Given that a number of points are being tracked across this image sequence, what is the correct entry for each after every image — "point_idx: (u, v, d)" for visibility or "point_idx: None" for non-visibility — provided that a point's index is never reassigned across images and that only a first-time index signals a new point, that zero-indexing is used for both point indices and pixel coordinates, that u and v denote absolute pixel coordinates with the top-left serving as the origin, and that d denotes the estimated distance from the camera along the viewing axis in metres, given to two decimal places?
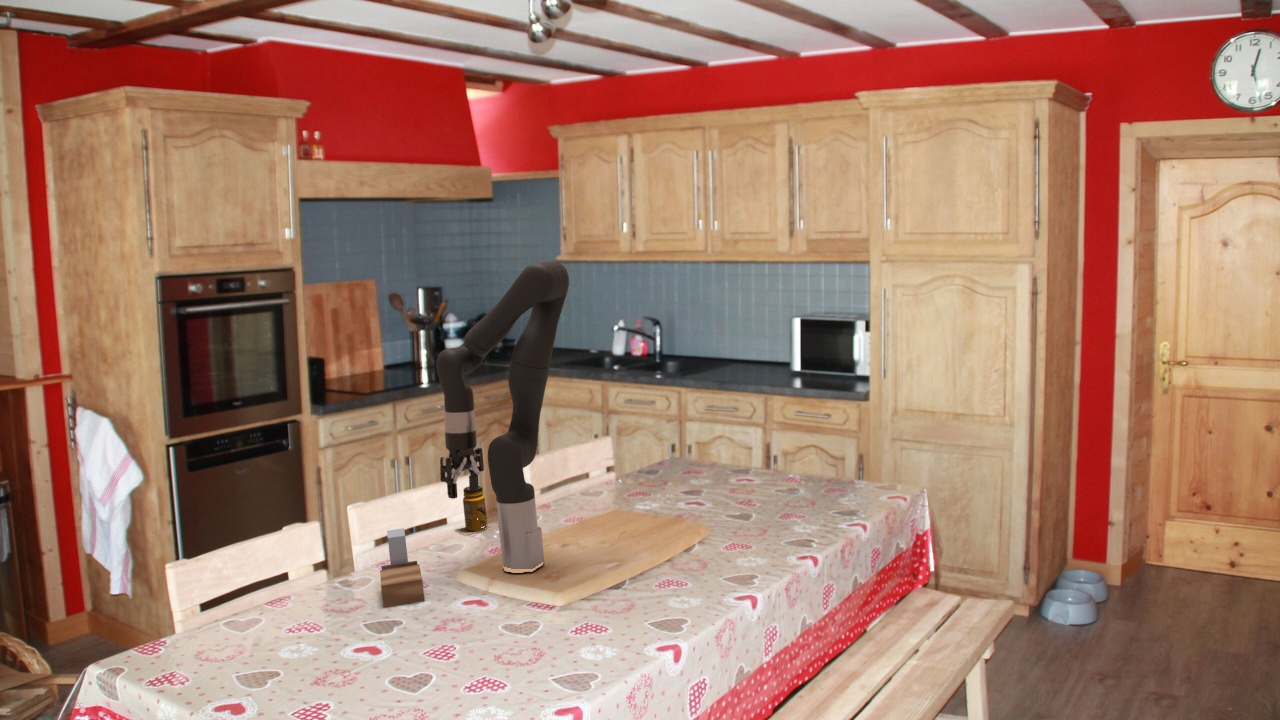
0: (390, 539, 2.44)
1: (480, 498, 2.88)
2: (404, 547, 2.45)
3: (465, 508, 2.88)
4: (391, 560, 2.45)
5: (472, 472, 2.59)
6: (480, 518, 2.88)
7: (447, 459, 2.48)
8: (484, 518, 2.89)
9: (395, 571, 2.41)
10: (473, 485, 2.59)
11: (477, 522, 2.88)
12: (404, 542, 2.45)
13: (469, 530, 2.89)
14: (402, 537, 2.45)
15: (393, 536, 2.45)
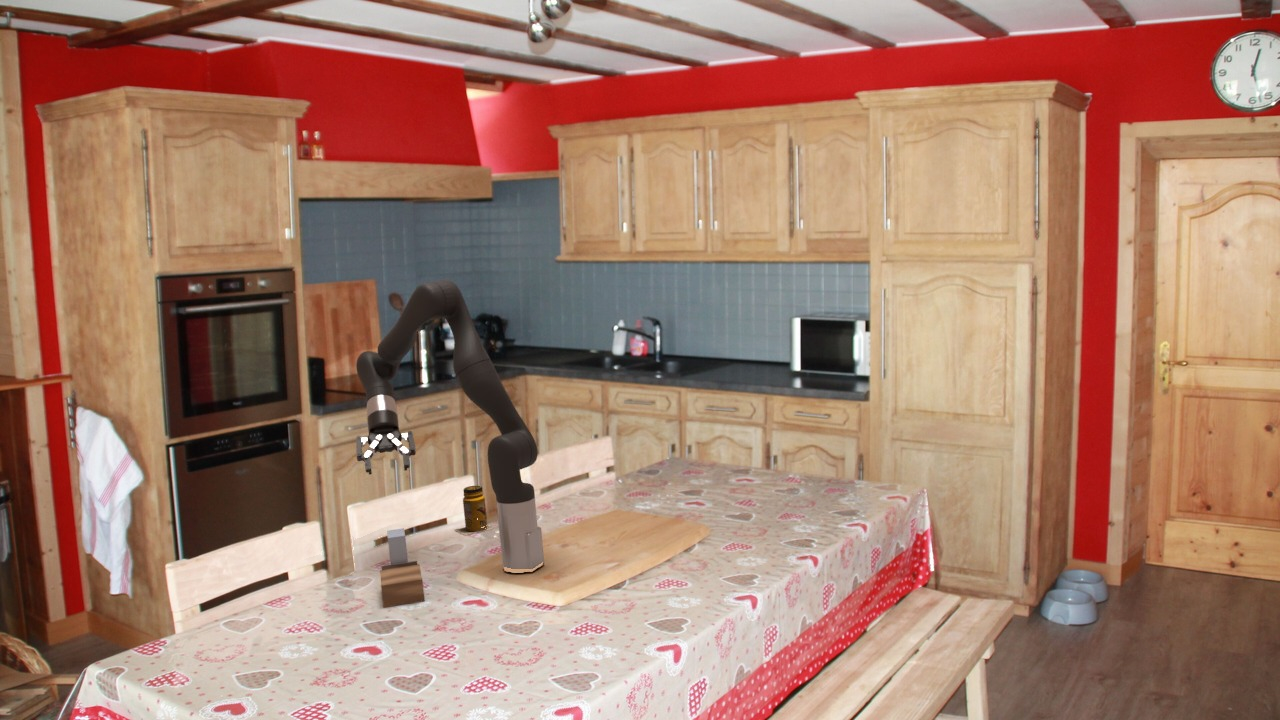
0: (390, 539, 2.44)
1: (480, 498, 2.88)
2: (404, 547, 2.45)
3: (465, 508, 2.88)
4: (391, 560, 2.45)
5: None
6: (480, 518, 2.88)
7: None
8: (484, 518, 2.89)
9: (395, 571, 2.41)
10: None
11: (477, 522, 2.88)
12: (404, 542, 2.45)
13: (469, 530, 2.89)
14: (402, 537, 2.45)
15: (393, 536, 2.45)
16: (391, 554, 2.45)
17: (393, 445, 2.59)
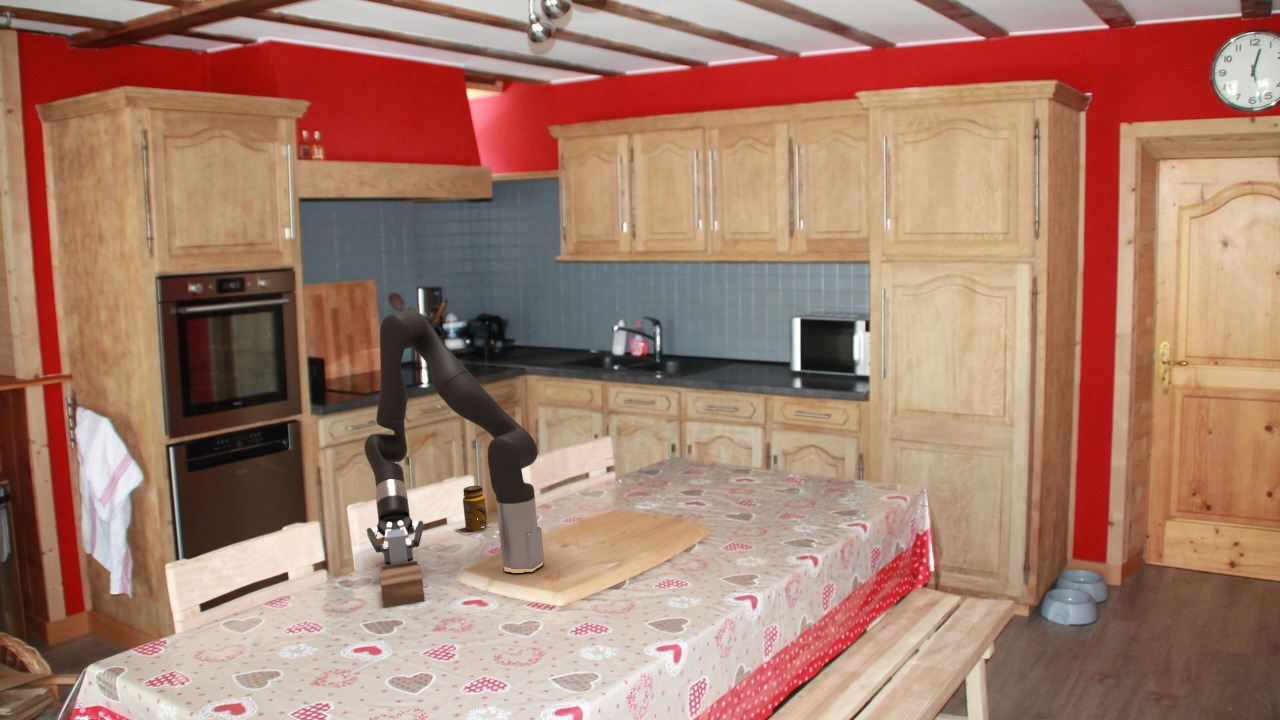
0: (390, 539, 2.44)
1: (480, 498, 2.88)
2: (404, 547, 2.45)
3: (465, 508, 2.88)
4: (391, 560, 2.45)
5: None
6: (480, 518, 2.88)
7: (367, 530, 2.50)
8: (484, 518, 2.89)
9: (395, 571, 2.41)
10: None
11: (477, 522, 2.88)
12: (404, 542, 2.45)
13: (469, 530, 2.89)
14: (402, 537, 2.45)
15: (393, 536, 2.45)
16: (391, 554, 2.45)
17: None
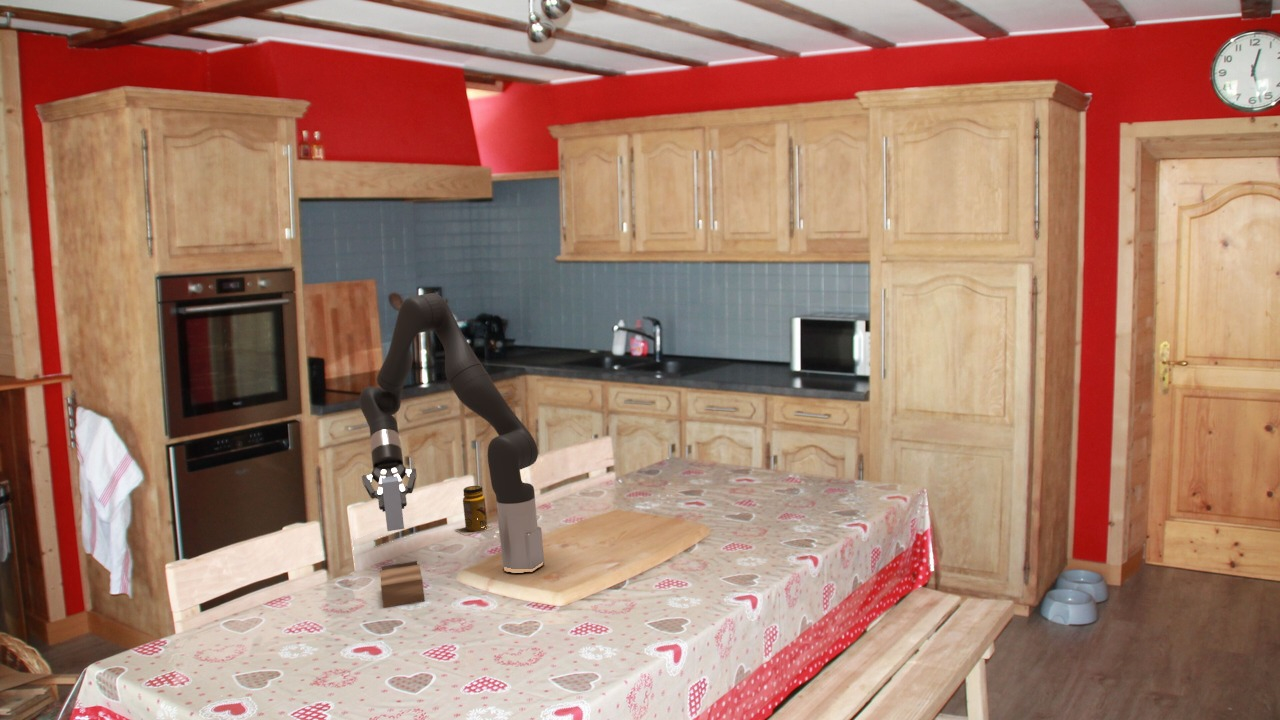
0: (384, 484, 2.53)
1: (480, 498, 2.88)
2: (398, 492, 2.54)
3: (465, 508, 2.88)
4: (385, 505, 2.53)
5: None
6: (479, 518, 2.88)
7: (362, 477, 2.59)
8: (484, 518, 2.89)
9: (395, 571, 2.41)
10: None
11: (477, 522, 2.88)
12: (398, 487, 2.54)
13: (469, 530, 2.89)
14: (396, 482, 2.53)
15: (387, 482, 2.53)
16: (385, 499, 2.53)
17: None
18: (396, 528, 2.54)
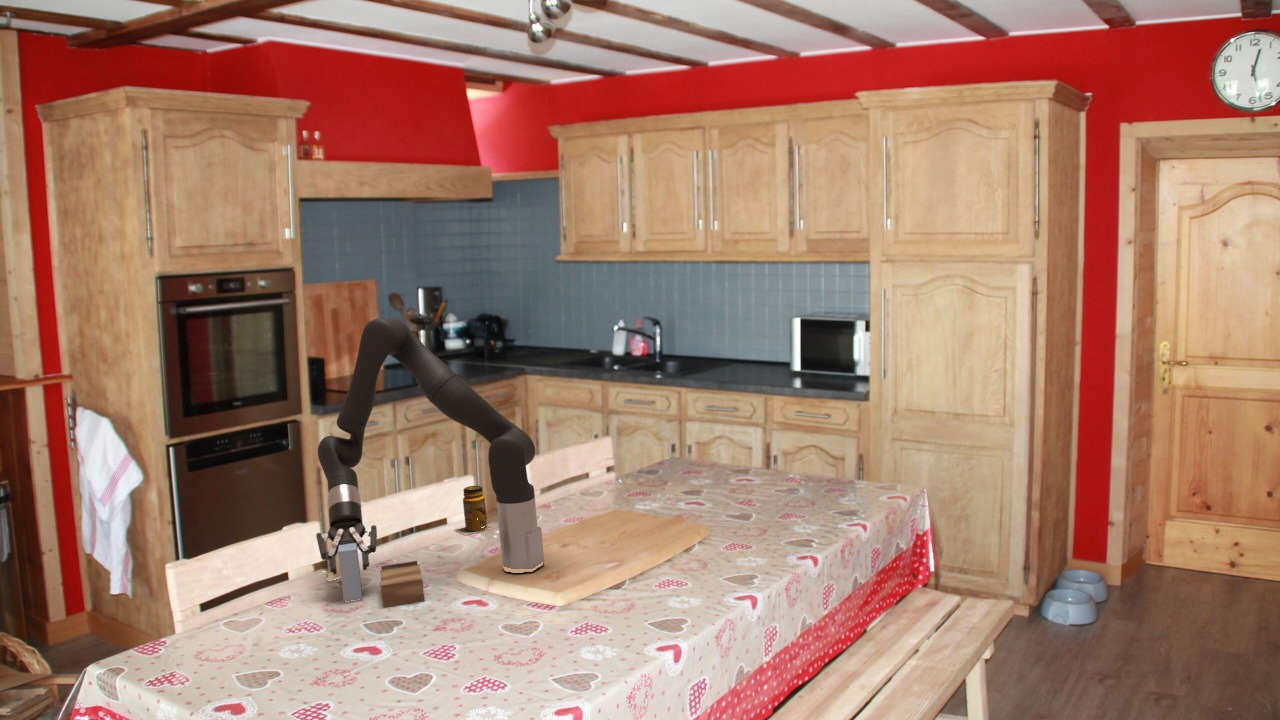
0: (340, 553, 2.36)
1: (480, 498, 2.88)
2: (355, 561, 2.37)
3: (465, 508, 2.88)
4: (342, 575, 2.37)
5: None
6: (480, 518, 2.88)
7: None
8: (484, 518, 2.89)
9: (395, 571, 2.41)
10: None
11: (477, 522, 2.88)
12: (355, 556, 2.37)
13: (469, 530, 2.89)
14: (353, 551, 2.37)
15: (344, 550, 2.37)
16: (342, 568, 2.36)
17: (353, 540, 2.42)
18: (353, 599, 2.38)
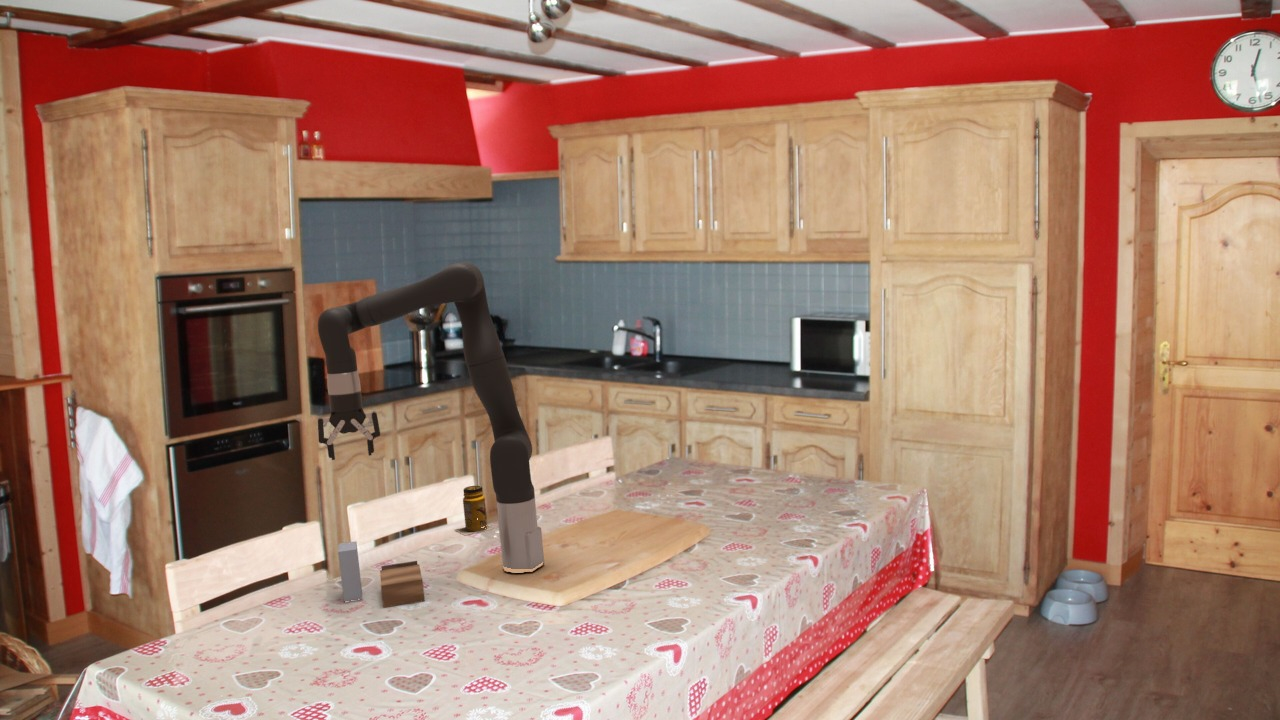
0: (341, 553, 2.36)
1: (480, 498, 2.88)
2: (355, 561, 2.37)
3: (465, 508, 2.88)
4: (342, 575, 2.37)
5: None
6: (480, 518, 2.88)
7: (318, 420, 2.47)
8: (484, 518, 2.89)
9: (395, 571, 2.41)
10: None
11: (477, 522, 2.88)
12: (355, 556, 2.37)
13: (469, 530, 2.89)
14: (353, 551, 2.37)
15: (344, 550, 2.37)
16: (342, 568, 2.36)
17: (357, 429, 2.50)
18: (353, 599, 2.38)
